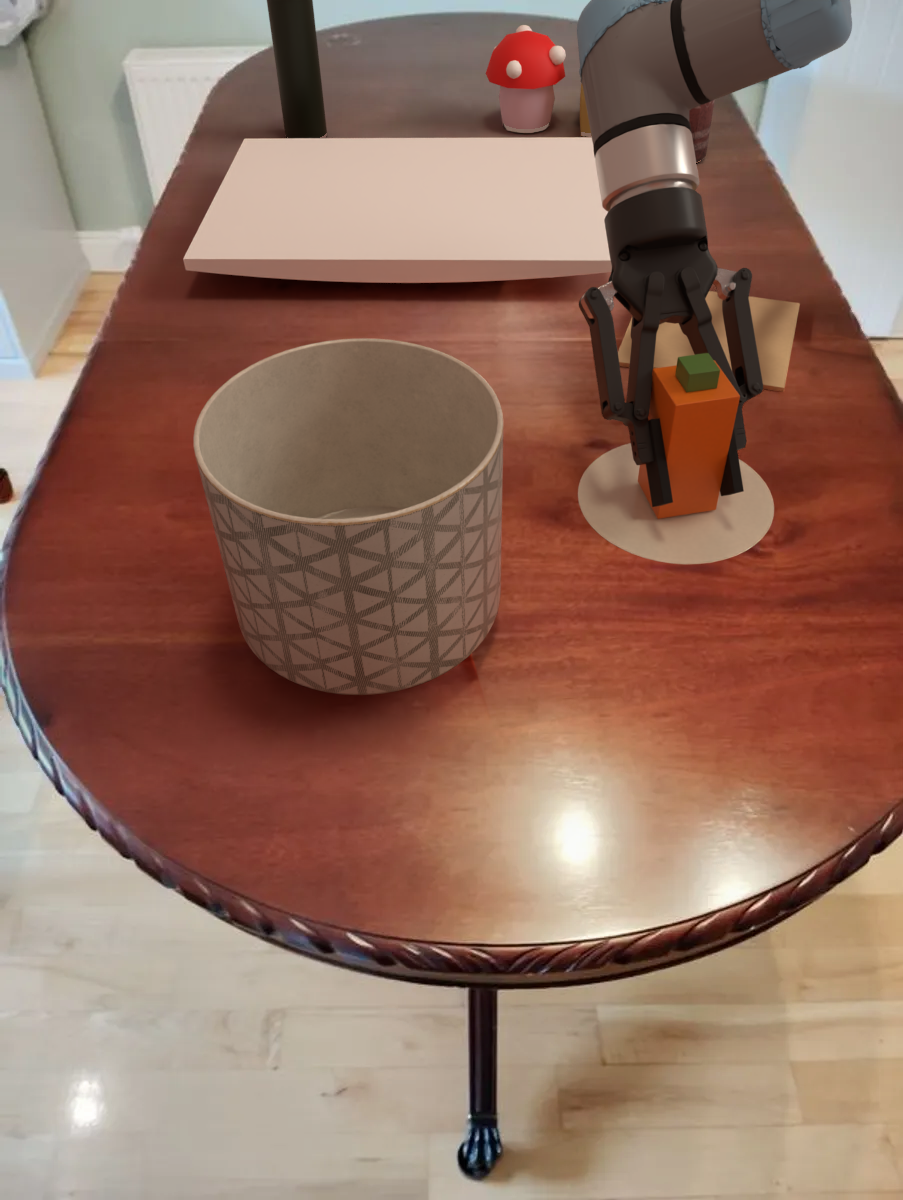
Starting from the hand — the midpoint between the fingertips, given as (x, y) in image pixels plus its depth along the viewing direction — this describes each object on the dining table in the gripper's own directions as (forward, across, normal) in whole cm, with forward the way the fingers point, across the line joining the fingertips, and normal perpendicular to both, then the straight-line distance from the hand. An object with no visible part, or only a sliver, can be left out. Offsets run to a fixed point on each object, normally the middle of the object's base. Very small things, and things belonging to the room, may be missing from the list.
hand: (697, 498), depth 78 cm
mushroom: (-58, -8, -63) cm, 86 cm away
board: (-38, +13, -43) cm, 59 cm away
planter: (+5, +26, 0) cm, 27 cm away
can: (-47, -25, -52) cm, 74 cm away
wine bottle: (-61, +22, -66) cm, 92 cm away
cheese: (-55, -21, -60) cm, 84 cm away
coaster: (-16, -12, -21) cm, 30 cm away
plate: (0, 0, -5) cm, 5 cm away
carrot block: (-1, 0, -4) cm, 5 cm away
